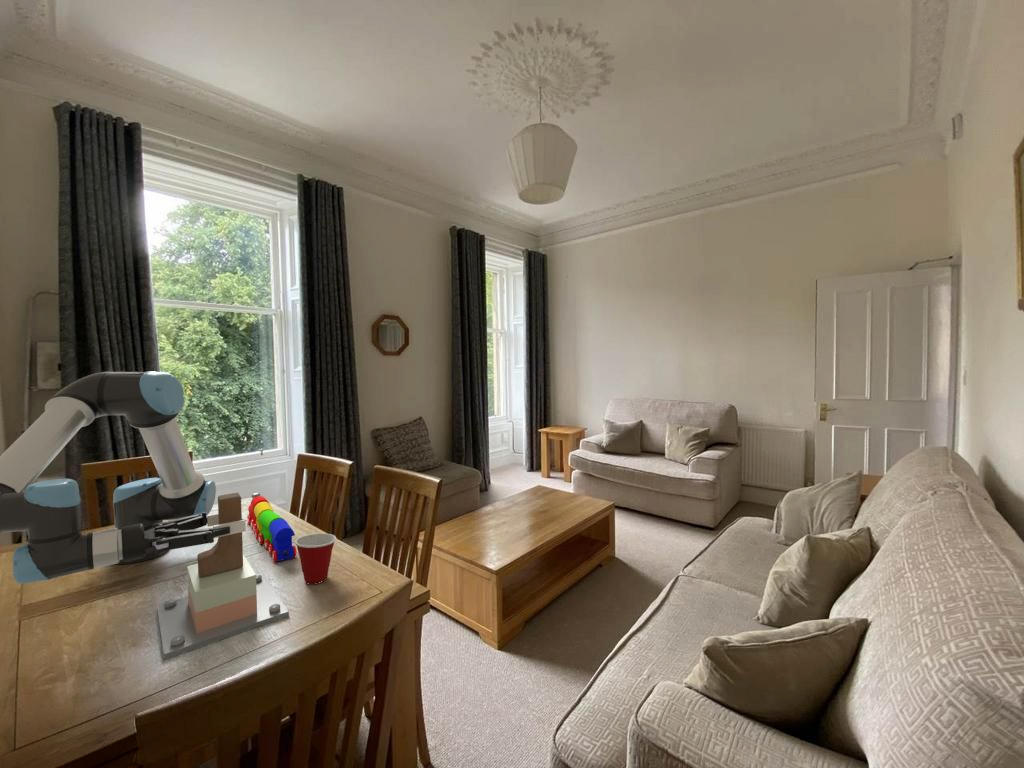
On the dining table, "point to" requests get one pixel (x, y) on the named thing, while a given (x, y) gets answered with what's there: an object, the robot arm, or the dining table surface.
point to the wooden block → (224, 541)
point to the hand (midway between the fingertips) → (241, 519)
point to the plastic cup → (315, 555)
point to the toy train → (271, 529)
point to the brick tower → (217, 609)
